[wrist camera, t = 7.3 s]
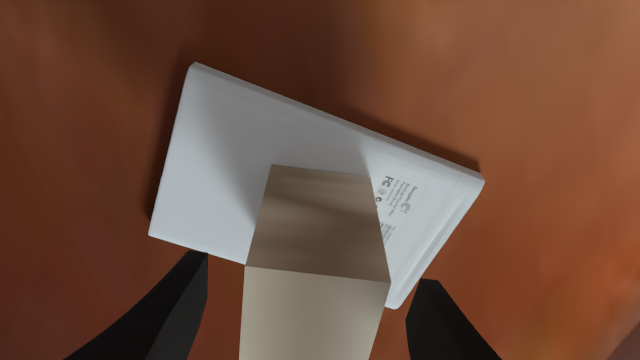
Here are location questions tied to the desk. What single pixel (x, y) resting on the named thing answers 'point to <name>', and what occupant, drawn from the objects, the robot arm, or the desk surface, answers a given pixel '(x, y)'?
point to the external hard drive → (302, 152)
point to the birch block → (314, 269)
